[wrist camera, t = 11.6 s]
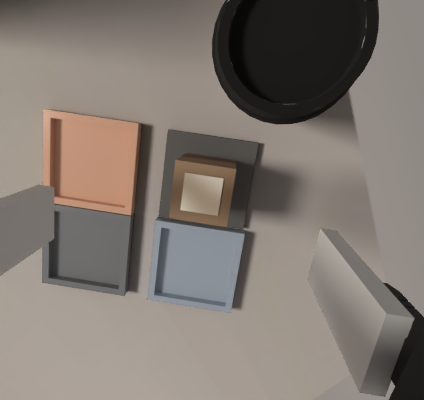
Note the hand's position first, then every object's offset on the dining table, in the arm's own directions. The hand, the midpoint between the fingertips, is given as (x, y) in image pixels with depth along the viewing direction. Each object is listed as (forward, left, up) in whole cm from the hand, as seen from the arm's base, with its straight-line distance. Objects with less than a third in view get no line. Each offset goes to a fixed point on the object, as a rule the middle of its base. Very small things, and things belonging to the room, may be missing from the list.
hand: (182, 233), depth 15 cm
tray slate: (+10, 0, -17) cm, 20 cm away
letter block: (0, 0, -17) cm, 17 cm away
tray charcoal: (+10, -12, -17) cm, 23 cm away
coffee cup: (-10, +4, -18) cm, 21 cm away
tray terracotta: (0, -12, -17) cm, 21 cm away
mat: (0, 0, -17) cm, 17 cm away
